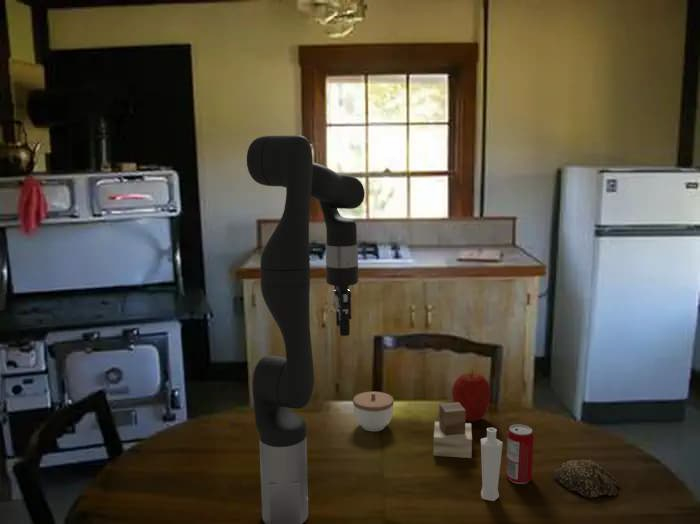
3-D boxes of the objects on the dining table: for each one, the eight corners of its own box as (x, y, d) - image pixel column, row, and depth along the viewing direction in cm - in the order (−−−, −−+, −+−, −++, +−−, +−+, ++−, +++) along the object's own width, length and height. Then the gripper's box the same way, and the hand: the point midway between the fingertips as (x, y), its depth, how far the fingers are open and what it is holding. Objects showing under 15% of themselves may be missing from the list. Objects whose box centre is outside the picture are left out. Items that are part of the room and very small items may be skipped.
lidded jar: (348, 432, 165) (347, 398, 163) (359, 416, 175) (359, 383, 173) (388, 437, 162) (388, 403, 160) (397, 420, 172) (397, 387, 170)
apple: (487, 411, 177) (489, 364, 174) (492, 427, 167) (494, 377, 165) (450, 410, 178) (451, 363, 175) (452, 426, 168) (453, 376, 166)
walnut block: (465, 433, 153) (465, 410, 152) (445, 435, 152) (445, 411, 151) (458, 424, 158) (458, 402, 157) (439, 426, 157) (439, 403, 156)
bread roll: (545, 475, 143) (546, 455, 142) (589, 465, 147) (591, 445, 146) (585, 504, 131) (586, 482, 130) (631, 493, 135) (633, 471, 135)
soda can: (534, 476, 142) (536, 425, 140) (527, 487, 138) (530, 435, 135) (510, 470, 145) (511, 420, 143) (502, 480, 140) (504, 430, 138)
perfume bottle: (484, 487, 138) (486, 423, 135) (503, 494, 135) (505, 428, 132) (474, 496, 134) (475, 430, 131) (493, 503, 131) (495, 436, 129)
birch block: (471, 459, 151) (471, 439, 150) (433, 456, 152) (433, 437, 151) (470, 442, 160) (471, 423, 159) (434, 439, 161) (434, 421, 160)
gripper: (361, 268, 142) (362, 338, 145) (354, 258, 156) (354, 321, 159) (328, 269, 141) (329, 339, 144) (323, 258, 155) (324, 323, 158)
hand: (342, 330), depth 151 cm, fingers open, 8 cm apart
